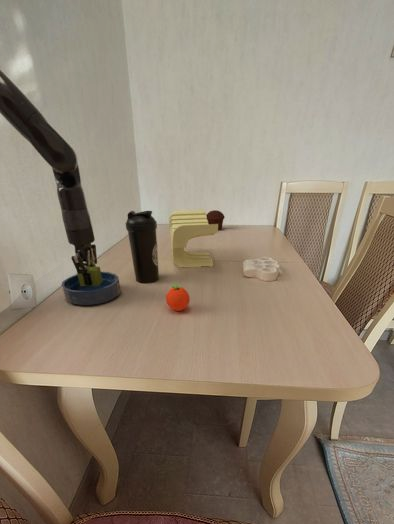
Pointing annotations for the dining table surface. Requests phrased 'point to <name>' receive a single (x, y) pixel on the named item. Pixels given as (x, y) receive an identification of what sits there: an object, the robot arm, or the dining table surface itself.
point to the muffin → (215, 218)
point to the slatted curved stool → (189, 236)
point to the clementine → (177, 298)
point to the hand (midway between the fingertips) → (91, 281)
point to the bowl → (91, 290)
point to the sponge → (92, 277)
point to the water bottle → (143, 245)
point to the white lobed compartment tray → (262, 268)
